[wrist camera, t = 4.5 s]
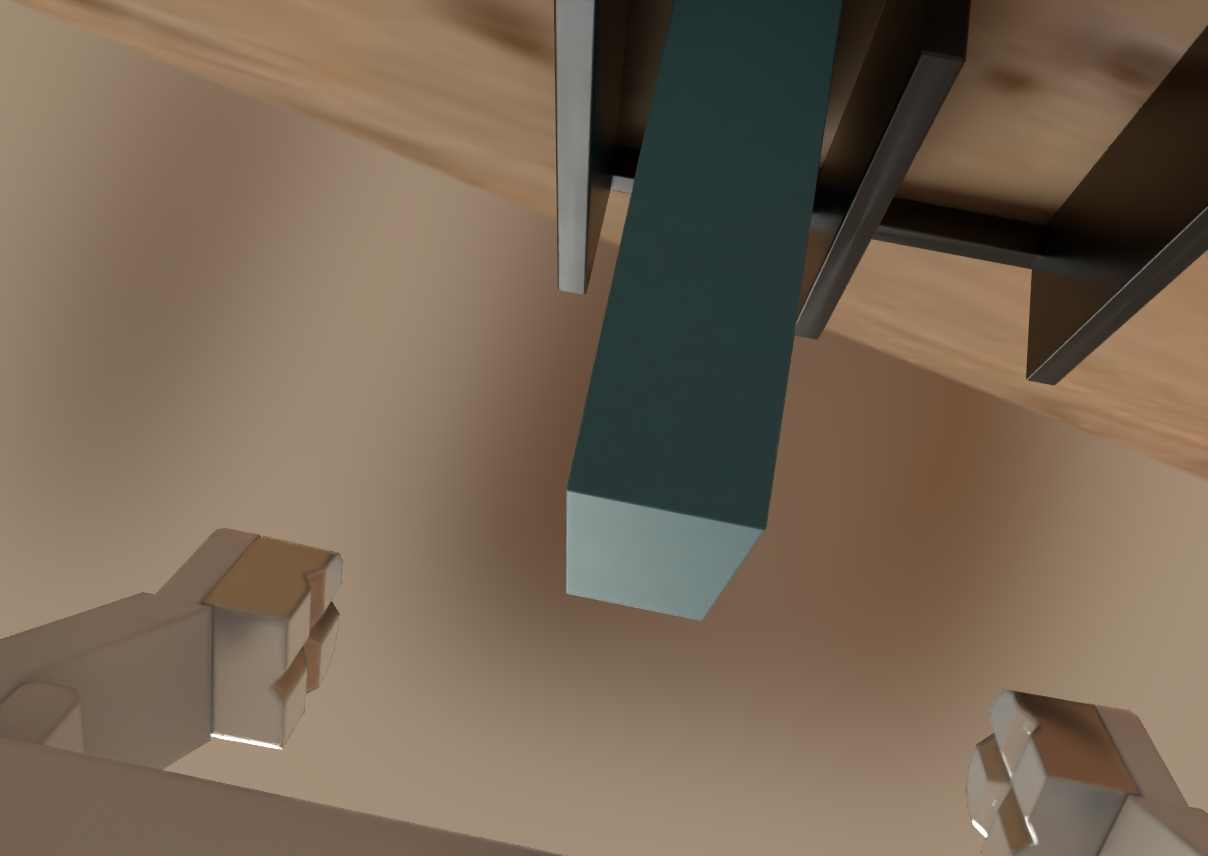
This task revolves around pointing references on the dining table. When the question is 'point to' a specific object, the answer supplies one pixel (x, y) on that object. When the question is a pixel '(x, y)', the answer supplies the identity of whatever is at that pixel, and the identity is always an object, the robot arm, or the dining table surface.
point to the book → (702, 308)
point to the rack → (883, 156)
